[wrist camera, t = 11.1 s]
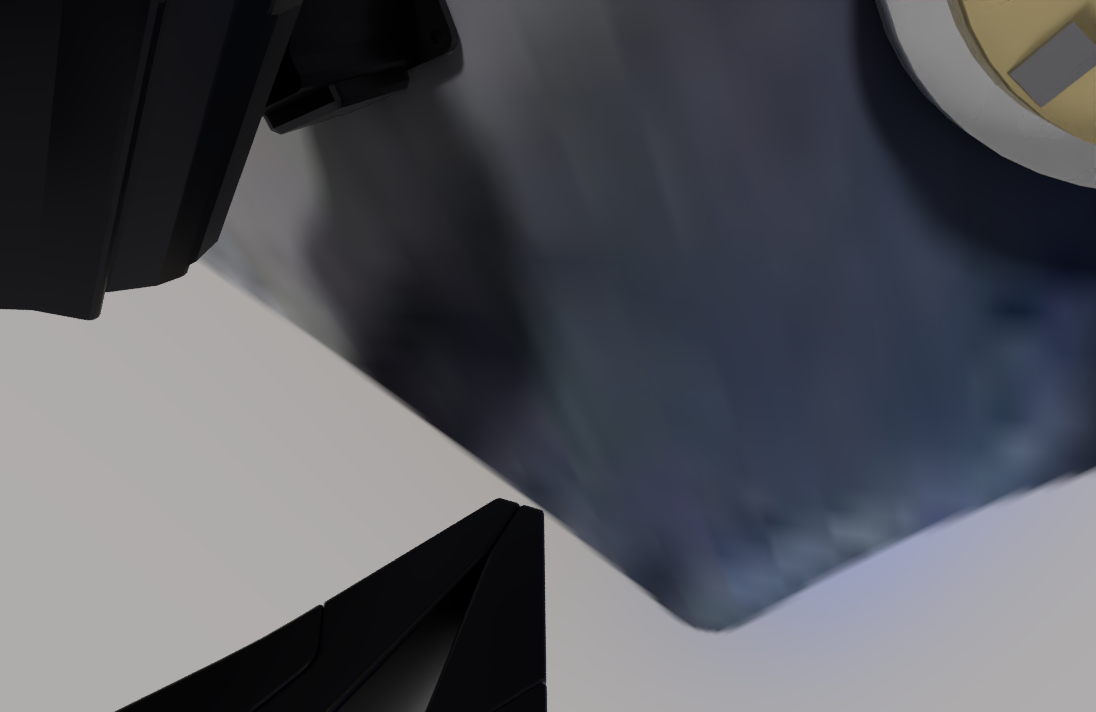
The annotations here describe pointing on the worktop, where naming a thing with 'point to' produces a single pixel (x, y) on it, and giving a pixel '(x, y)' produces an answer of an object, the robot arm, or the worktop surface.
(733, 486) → the worktop surface
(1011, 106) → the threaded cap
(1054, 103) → the gold dial with handle
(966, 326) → the worktop surface
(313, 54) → the robot arm
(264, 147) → the worktop surface
